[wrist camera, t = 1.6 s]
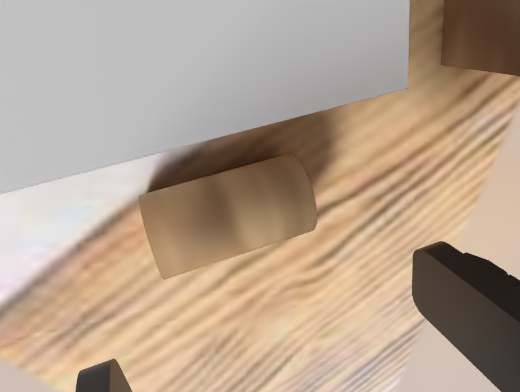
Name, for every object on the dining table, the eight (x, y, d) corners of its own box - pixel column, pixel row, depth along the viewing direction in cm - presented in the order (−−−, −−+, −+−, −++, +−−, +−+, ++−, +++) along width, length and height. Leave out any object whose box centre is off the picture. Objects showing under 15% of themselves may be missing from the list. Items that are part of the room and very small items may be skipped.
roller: (165, 266, 15) (164, 291, 12) (142, 192, 14) (135, 199, 11) (295, 224, 16) (324, 237, 13) (277, 154, 15) (303, 151, 12)
